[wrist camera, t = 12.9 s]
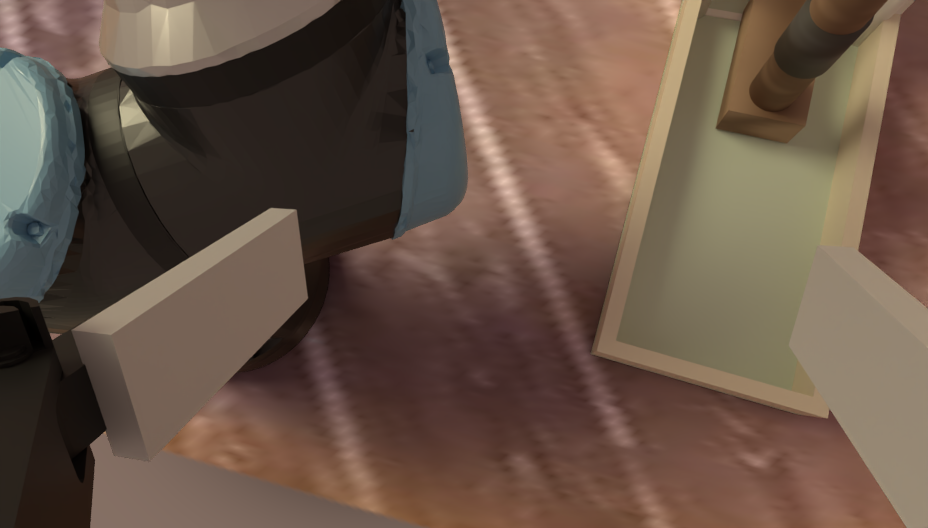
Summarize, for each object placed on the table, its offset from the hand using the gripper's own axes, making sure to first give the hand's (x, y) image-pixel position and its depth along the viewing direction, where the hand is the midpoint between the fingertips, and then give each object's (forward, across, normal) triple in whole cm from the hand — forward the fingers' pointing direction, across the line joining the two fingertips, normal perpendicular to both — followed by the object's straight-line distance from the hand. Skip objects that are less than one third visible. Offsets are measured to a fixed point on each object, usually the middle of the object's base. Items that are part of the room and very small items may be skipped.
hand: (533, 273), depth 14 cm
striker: (+33, +15, +2) cm, 36 cm away
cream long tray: (+30, +13, -4) cm, 33 cm away
